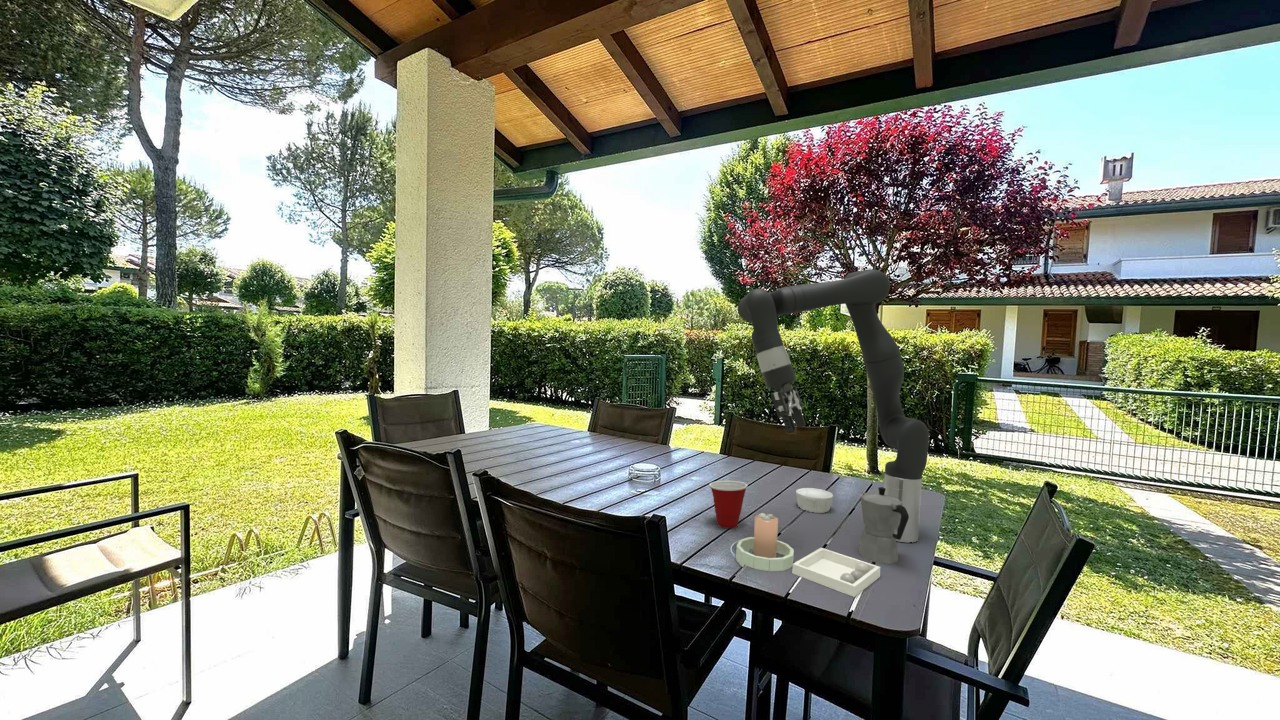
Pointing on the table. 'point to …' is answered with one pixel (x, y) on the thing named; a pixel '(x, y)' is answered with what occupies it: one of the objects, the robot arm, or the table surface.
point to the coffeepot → (881, 527)
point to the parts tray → (837, 571)
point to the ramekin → (814, 500)
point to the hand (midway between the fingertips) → (797, 429)
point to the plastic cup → (728, 501)
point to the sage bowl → (762, 562)
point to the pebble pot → (765, 535)
